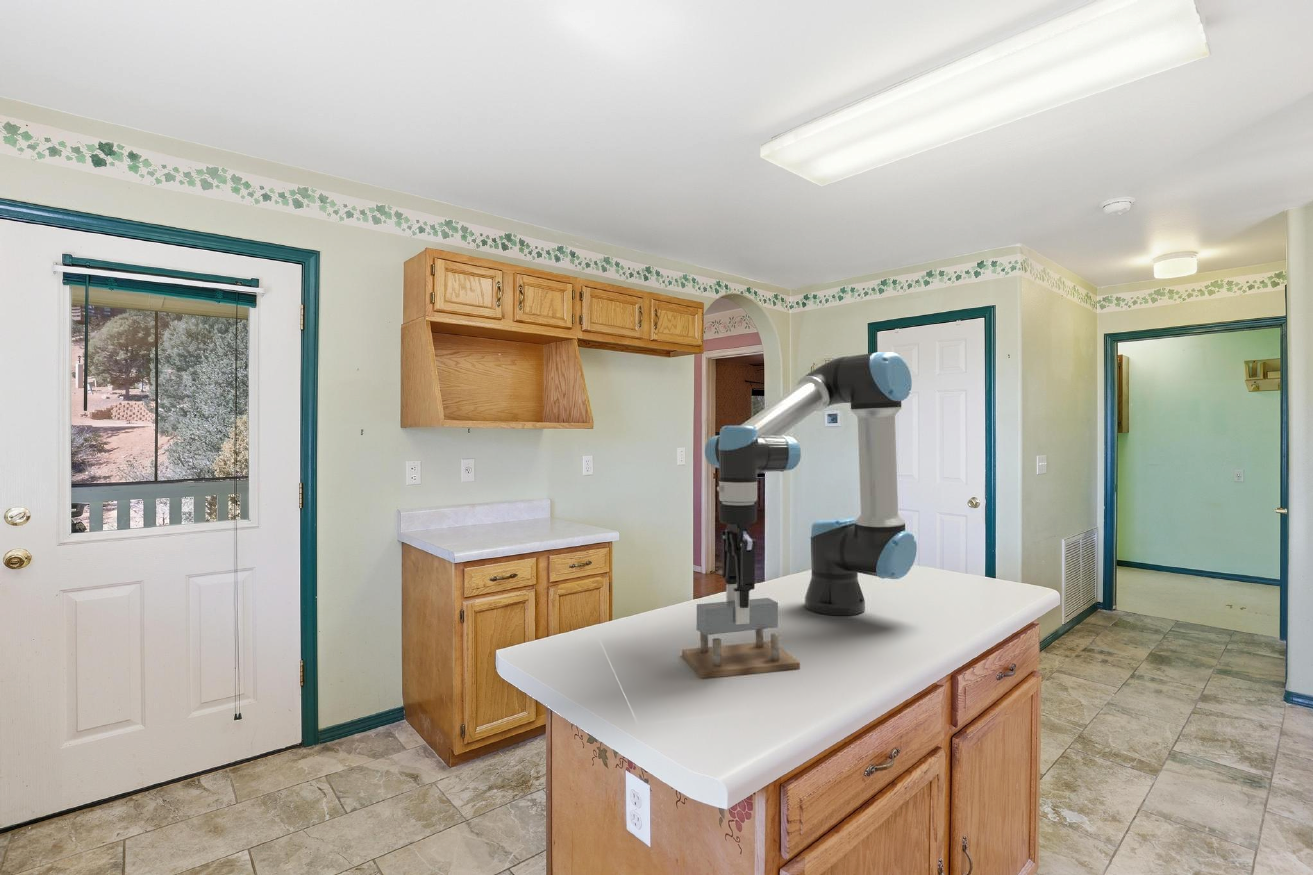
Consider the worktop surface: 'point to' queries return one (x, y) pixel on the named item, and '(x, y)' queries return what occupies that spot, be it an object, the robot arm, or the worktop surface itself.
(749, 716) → the worktop surface
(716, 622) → the steel bar
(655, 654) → the worktop surface
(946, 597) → the worktop surface
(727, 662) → the peg rack
